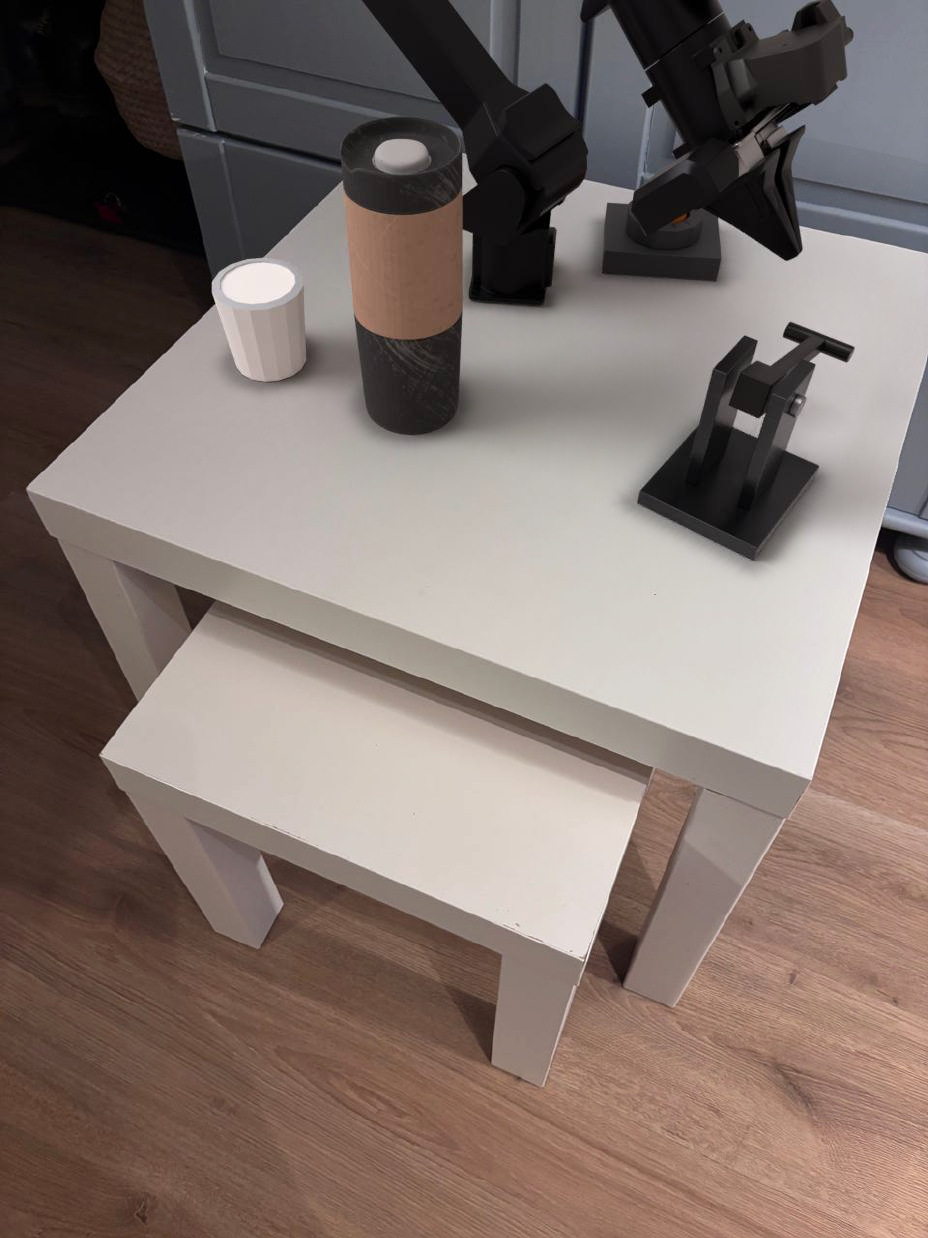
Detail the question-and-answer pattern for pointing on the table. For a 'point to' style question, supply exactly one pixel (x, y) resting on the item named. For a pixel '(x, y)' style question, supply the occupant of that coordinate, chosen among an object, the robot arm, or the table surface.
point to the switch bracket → (736, 463)
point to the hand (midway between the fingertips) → (794, 256)
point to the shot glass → (263, 317)
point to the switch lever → (782, 368)
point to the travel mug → (406, 267)
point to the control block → (661, 246)
